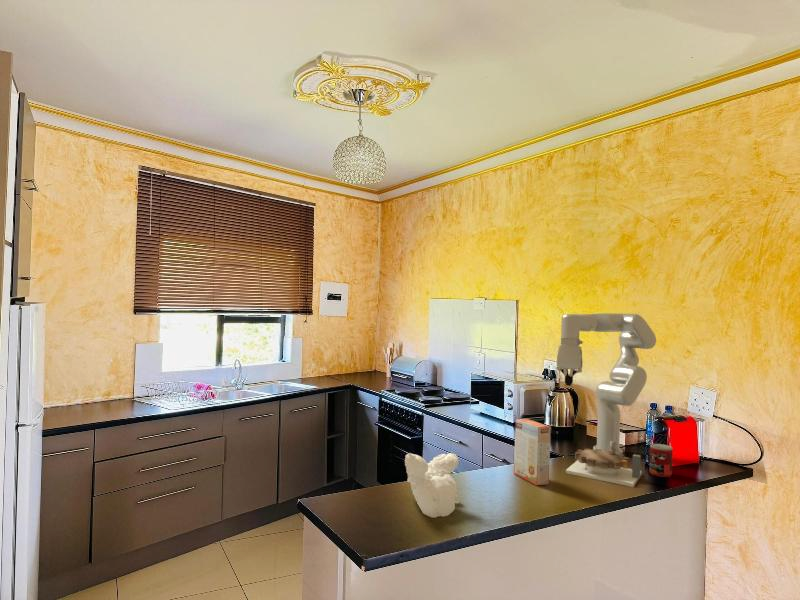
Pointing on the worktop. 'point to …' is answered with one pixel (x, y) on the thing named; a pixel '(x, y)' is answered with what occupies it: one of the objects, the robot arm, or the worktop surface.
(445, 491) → the white lumpy piece
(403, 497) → the worktop surface
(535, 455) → the cracker box
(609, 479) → the stand
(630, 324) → the robot arm
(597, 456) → the sprocket
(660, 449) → the canned food
